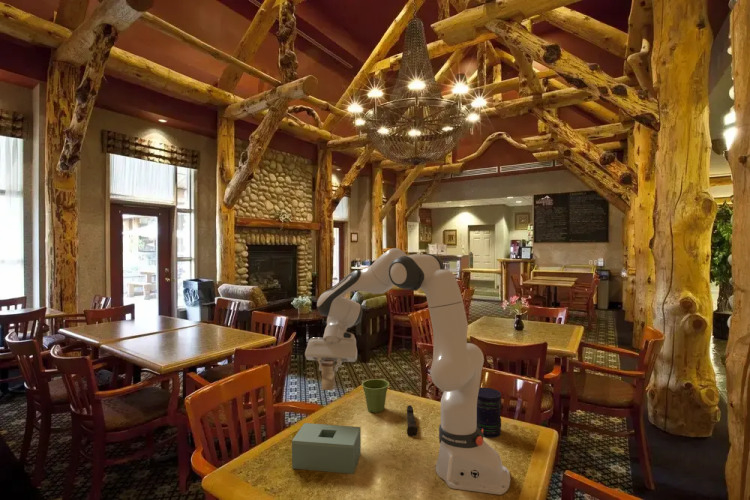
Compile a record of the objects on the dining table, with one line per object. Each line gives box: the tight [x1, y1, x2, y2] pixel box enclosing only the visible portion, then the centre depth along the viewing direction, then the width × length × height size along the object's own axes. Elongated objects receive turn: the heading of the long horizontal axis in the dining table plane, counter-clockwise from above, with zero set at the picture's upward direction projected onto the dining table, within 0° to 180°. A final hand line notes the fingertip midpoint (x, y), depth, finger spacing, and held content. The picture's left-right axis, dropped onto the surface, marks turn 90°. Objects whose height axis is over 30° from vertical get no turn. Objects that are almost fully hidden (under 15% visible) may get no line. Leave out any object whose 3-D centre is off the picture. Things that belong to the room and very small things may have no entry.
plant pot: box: [361, 378, 390, 414], centre depth 167 cm, size 12×12×11 cm
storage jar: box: [477, 387, 502, 439], centre depth 147 cm, size 10×10×15 cm
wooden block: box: [321, 360, 336, 391], centre depth 146 cm, size 4×4×10 cm
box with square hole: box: [291, 422, 362, 475], centre depth 128 cm, size 20×12×9 cm, turn 81°
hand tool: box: [406, 404, 419, 437], centre depth 153 cm, size 19×4×5 cm, turn 176°
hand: (327, 370), depth 145 cm, fingers closed on wooden block, 4 cm apart
